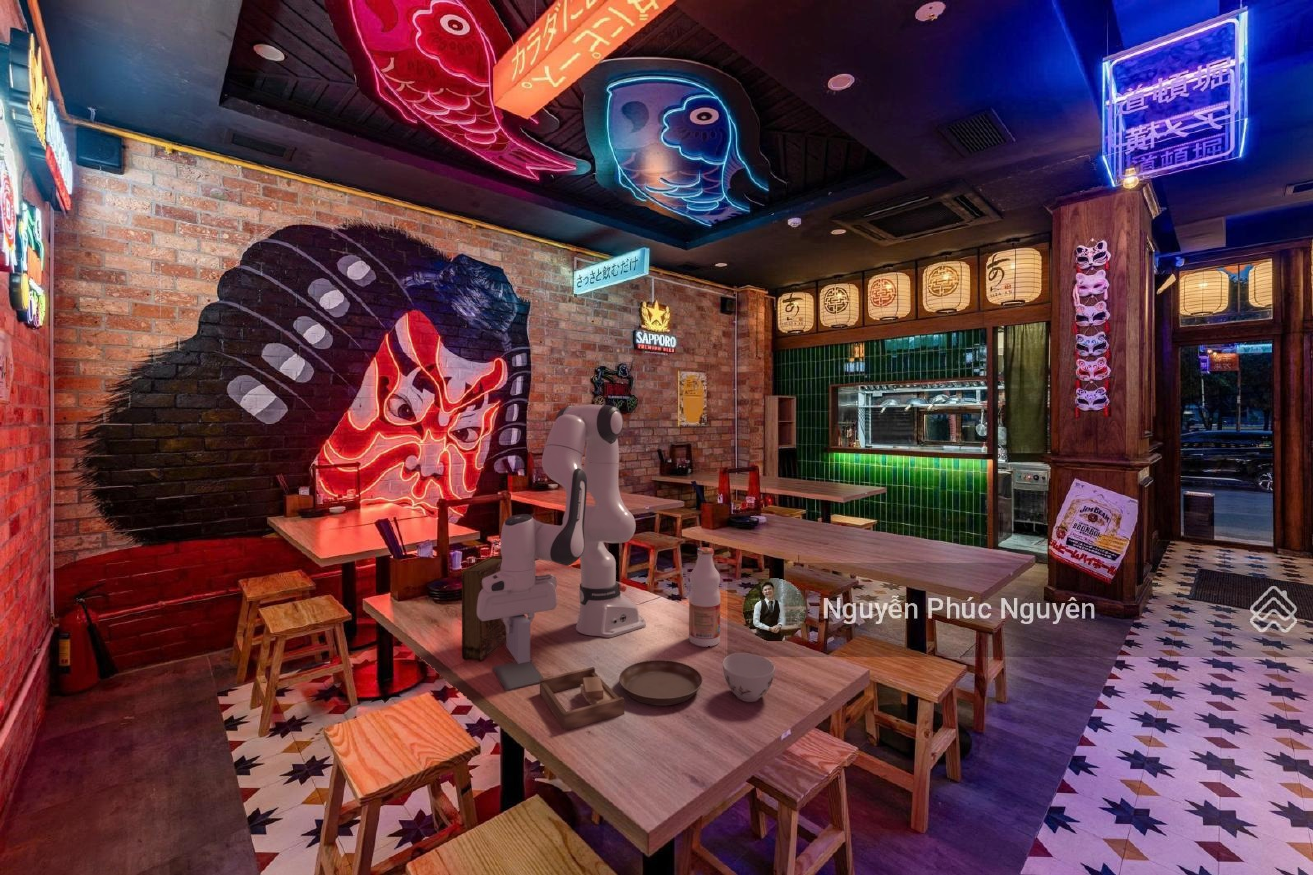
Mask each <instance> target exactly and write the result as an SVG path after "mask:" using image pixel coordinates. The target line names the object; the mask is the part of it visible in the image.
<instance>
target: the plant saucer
mask: <svg viewBox="0 0 1313 875" xmlns="http://www.w3.org/2000/svg"><path fill="white" fill-rule="evenodd" d="M618 680H619V684H620V686H621V687H622V689H623V690H624V691H625V692H626V693H627V694H628V695H629V697H631V698H633V699H634V700H636V701H638V702H640V703H643V704H645V705H649V706H658V707H659V706H672V705H677V704H681V703H683V702H684V703H685V701H688V700H689V699H690V698H692V697H693V696H694V695H695V694H696V693H697V692H698V691H699V690H700V689H701V686H702V684H703V680H704V679H703V676H702V674H701V673H700V672H699V671H698V670H697V668H694V667H693V666H690V665H689V664H686V663H683V662H678V661H676V660H675V661H674V660H668V659H667V660H666V659H651V660H644V661H639V662H635V663H634V664H631V665H629V666H627V667H625V668H624V669H623V670H622V671H621V673H620V674H619V677H618Z"/></svg>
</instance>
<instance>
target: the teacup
mask: <svg viewBox="0 0 1313 875" xmlns="http://www.w3.org/2000/svg"><path fill="white" fill-rule="evenodd" d="M722 670H723V675H724V679H725V682H726V683H727V686H728V688H729V690H730V691H731V692H732V693H733V694H734V695H735V696H736V697H737V699H738V700H741V701H743V702H747V703H753V702H757V701H759V699H760V698H761V697H763V696H764V695H766V693H767V692H768V691H769V689H770V688H771V686H772V684H773V681H774V677H775V671H776V666H775V664H774V663H773V660H772V659H771V660H770V659H769V658H767V657H765V656H761V655H758V654H754V653H749V652H737V653H731V654H729V655H727V656H726V657H725V658H723V661H722Z"/></svg>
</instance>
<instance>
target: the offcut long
mask: <svg viewBox="0 0 1313 875" xmlns="http://www.w3.org/2000/svg"><path fill="white" fill-rule="evenodd" d="M580 694H581V695H582V696H583V697H584V698H585V693H584V688H583V684H581V686H580ZM612 699H613V698H612V697H611V696H610V695H609V694H608V693H607V692H606V691H605V690H604V689H603V699H597V700H587V702H588V703H589V704H590V705H593V704H597V703H601V702H604V701H608V700H612Z"/></svg>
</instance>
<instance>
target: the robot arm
mask: <svg viewBox="0 0 1313 875" xmlns="http://www.w3.org/2000/svg"><path fill="white" fill-rule="evenodd" d="M623 428H624V418H623V414H622V412H621V411H620V409H619V407H616V406H613V405H609V404H604V405H603V404H591V403H590V404H582V405H567V406H564V407H562V408H561V409H559V410H558V413H557V414H556V417H555V419H554V423H553V425H552V427H551V429H550V431H549V434H548V437H547V439H546V442H545V446H544V449H543V453H542V458H541V466H542V470H543V471H544V473H545V475H546V476H547V477H548V478H549V479H550V480H552V481H553V482H555V483H557V484H559V485H560V486H561V487H562V488H564V491H565V493H566V495H565V496H566V501H565V509H564V514H563V517H562V524H561V525H555V524H549V523H544V522H541V521H538V520H536V519H535V518H534V517H533V515H531V514H529V513H522V514H521V513H520V514H515V515H511V516H509V517H507V518H506V519H505V520H504V521H503V524H502V526H501V533H500V554H501V557H502V563H501V568H500V571H499V572H497V573H495V574H492V575H490V576H488V577H485V578H484V579H482V586H483V589H482V590H481V591H480V593H479V596H478V602H477V616H478V618H479V619H480V620H481V621H487V620H494V619H500V618H501V620H502V621H503V623H504V624H505V626H506V633H507V634H510V633H513V626H512V625H508V623H507V622H506V621H509V617H512V616H518V615H527V616H528V617H527V619H528V620H529V621H530V625H531V623H532V622H533V620H534V618H535V614H536V613H540V612H541V613H542V612H548V611H549V612H550V611H554V610H556V608H557V606H558V598H557V591H556V590H557V586H558V583H557V582H558V580H557V577H556V576H554V575H552V574H551V573H549V574H544V575H543V574H540V575H537V574H536V560H541V561H546V562H552V563H554V564H559V565H562V566H565V567H567V566H571V565H572V564H574V563H575V562H576V561H578V560H579V561H580V584H579V594H578V597H579V598H578V599H579V602H580V603H579V610H578V611H579V612H578V617H577V621H576V626H575V630H576V632H578V633H580V634H582V635H587V636H594V637H595V636H596V637H601V638H608V639H609V638H614V637H616V636H619V635H623V634H625V633H628V632H629V633H630V632H632V631H635V630H636V631H637V630H639V629H642V628H646V624H647V623H646V620H645V619H644V618H643V616H641V615H639V609H638V607H637V605H636V603H635V602H633V601H632V599H630V598H628V597H627V596H625V595H624V594H623V593H625V592H626V591H627V590H628V589H627V586H626V585H625V584H622V583H619V582H618V581H616V580H617V579H616V577H617V576H616V575H617V570H616V568H617V566H616V565H617V562H616V559H615V556H614V555H613V554H612V553H611V552H609V551H608V549H607V548H606V546H605V543H609V544H622V543H627V542H629V541H630V540H631V539H632V537H633V536H634V535H635V532H636V527H637V526H636V519H635V517H634V515H633V514H632V513H631V512H630V510H628V508H627V506H626V505H625V503H624V501H623V500H622V496H621V491H620V488H619V484H620V483H619V474H620V473H619V468H620V467H619V465H620V464H619V463H620V449H619V448H620V447H619V440H618V439H619V436H620V435H621V433H622V432H623ZM583 456H584V460H583ZM582 460H583V461H584V465H583V464H582V463H583V461H582ZM582 465H583V466H582ZM587 494H590V495H591V497H592V498H593V500H594V505H589V504H587V496H588V495H587Z"/></svg>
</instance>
